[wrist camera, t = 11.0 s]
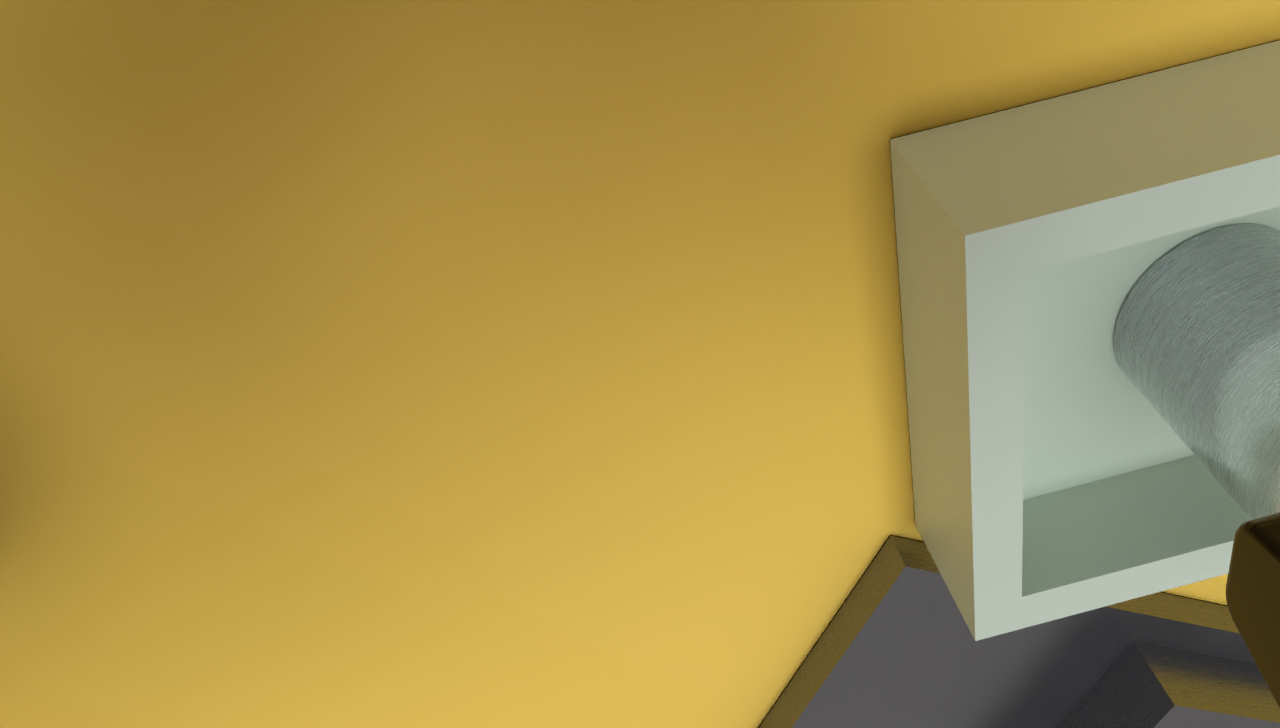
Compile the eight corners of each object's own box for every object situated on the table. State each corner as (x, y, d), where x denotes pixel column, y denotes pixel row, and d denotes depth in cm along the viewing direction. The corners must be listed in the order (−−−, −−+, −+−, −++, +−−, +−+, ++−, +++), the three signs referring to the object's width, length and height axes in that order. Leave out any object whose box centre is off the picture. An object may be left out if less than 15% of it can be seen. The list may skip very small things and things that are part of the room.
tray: (915, 524, 28) (975, 641, 25) (890, 139, 22) (964, 235, 19) (1411, 394, 28) (1524, 494, 25) (1520, -22, 22) (1685, 50, 19)
